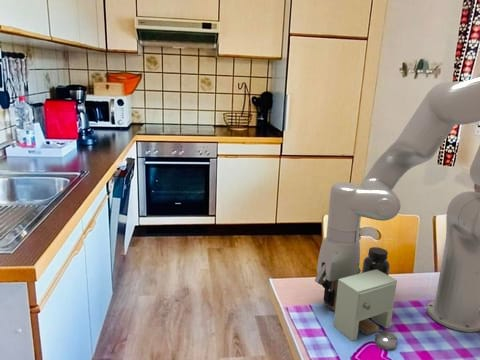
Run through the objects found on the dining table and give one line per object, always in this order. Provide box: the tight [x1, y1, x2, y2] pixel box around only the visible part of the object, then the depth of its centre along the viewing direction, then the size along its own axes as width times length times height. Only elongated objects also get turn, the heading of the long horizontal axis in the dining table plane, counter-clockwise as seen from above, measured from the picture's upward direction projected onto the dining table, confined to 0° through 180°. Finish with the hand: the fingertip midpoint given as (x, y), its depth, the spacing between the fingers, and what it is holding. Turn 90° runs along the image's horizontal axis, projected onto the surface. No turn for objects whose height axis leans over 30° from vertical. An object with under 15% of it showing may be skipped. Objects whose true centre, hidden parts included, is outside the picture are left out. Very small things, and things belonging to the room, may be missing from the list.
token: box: [374, 330, 398, 352], centre depth 85 cm, size 4×4×2 cm
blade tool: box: [323, 280, 380, 336], centre depth 94 cm, size 4×14×8 cm, turn 28°
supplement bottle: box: [361, 246, 391, 276], centre depth 106 cm, size 7×7×12 cm
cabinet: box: [333, 269, 398, 342], centre depth 89 cm, size 12×7×12 cm, turn 118°
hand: (335, 300), depth 99 cm, fingers closed on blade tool, 4 cm apart
